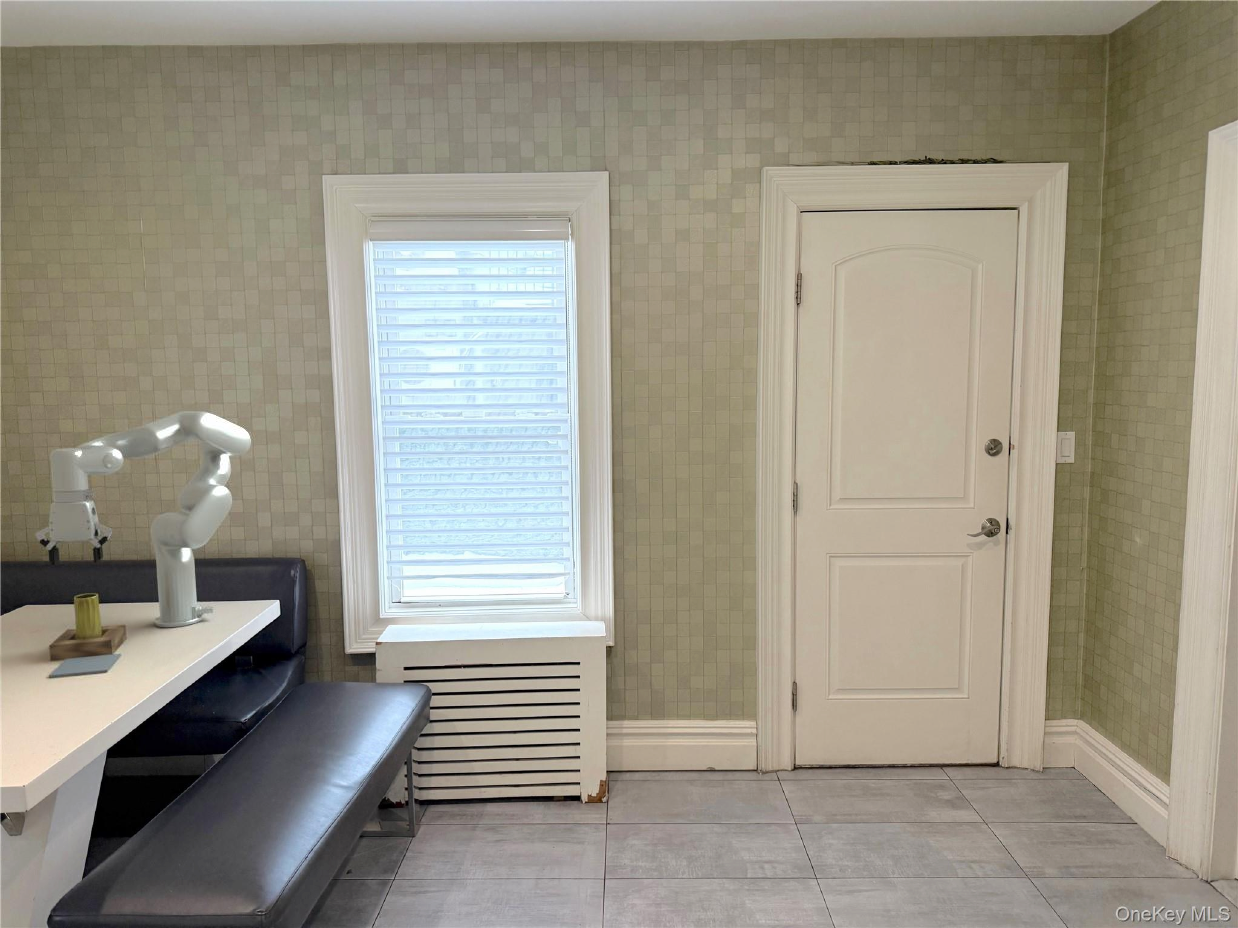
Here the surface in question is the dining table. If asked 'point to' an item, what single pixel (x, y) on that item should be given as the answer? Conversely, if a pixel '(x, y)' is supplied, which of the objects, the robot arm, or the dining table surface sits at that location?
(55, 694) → the dining table surface
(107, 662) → the mat
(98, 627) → the vase
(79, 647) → the collar
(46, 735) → the dining table surface
